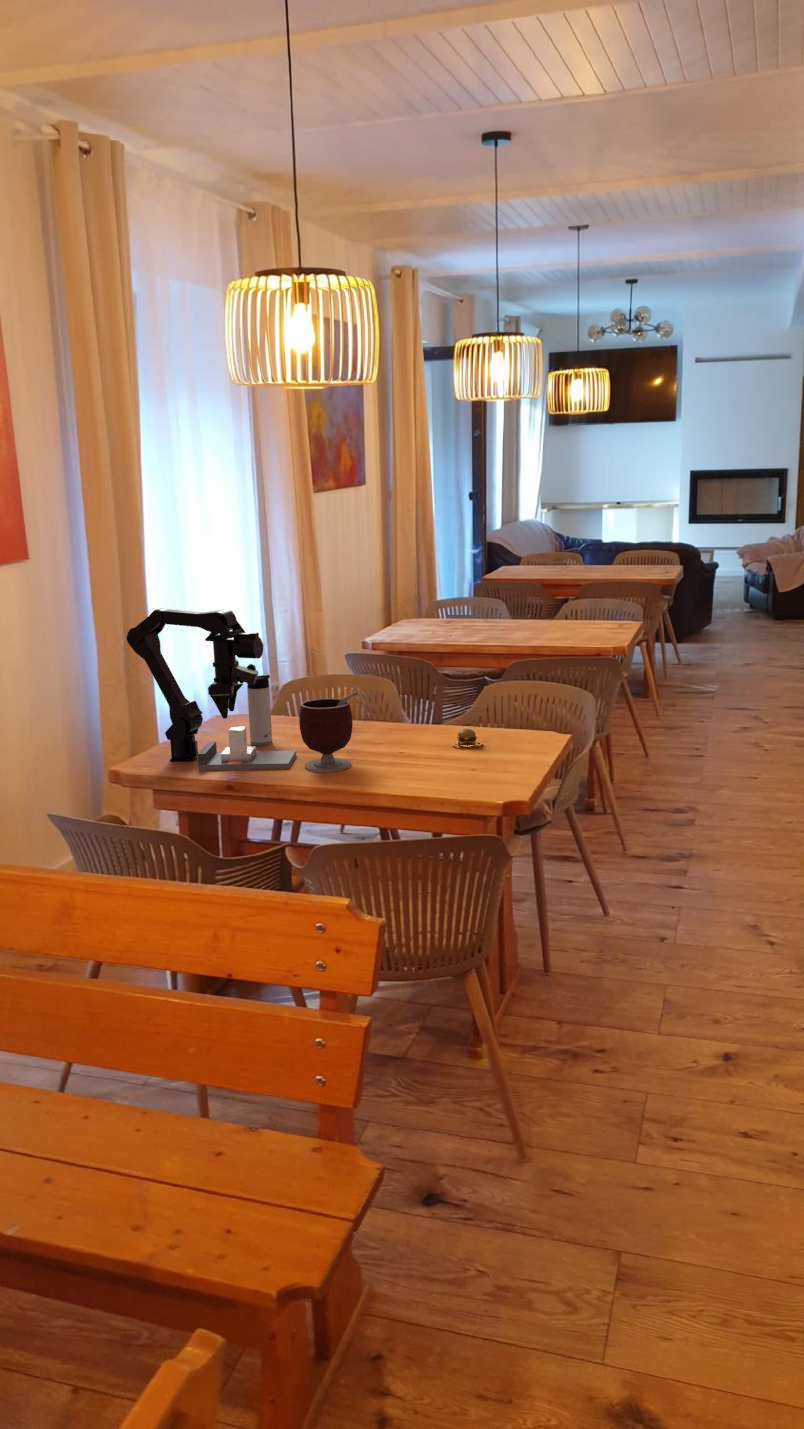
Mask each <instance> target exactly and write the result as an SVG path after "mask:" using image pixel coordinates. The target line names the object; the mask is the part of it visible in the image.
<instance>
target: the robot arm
mask: <svg viewBox="0 0 804 1429" xmlns="http://www.w3.org/2000/svg"><path fill="white" fill-rule="evenodd" d="M166 625H172V626H181V627H182V626H183V627H192V628H194V627H195V628H200V629H202V630H204V631H207V632H209V634H208V636H207V637H205V639H204V640H205V642H212V648H213V660H214V661H213V662H212V667H213V668H214V675H215V676H214V677H213V682H211V684H210V685H209V686H207V691H208V695H209V697H210V698H211V699H212V701H213V702H214V704H215V706H216V708H217V710H218V711H219V714H220V715H221V718H222V719H227V718H228V714H229V712H235V706H236V700H237V695H238V691H239V690H240V689H241V687H242V686H243V685H244V683H246V684H247V685H248V684H249V685H254V683H255V682H256V679H257V676H259V670H257V668H256V665H255V664H253V663H249V664H248V665H247V666H246V665H245V666H242V665H240V661H239V660H238V659H261V657H263V656H262V655H263V653H264V643H263V641H262V638H261V637H260V635H259V633H260V632H252V633H251V632H246V630H244V628H243V627H242V625H241V624H240V623H239V621H238V620H237V617H236V614H235V613H234V612H233V611H232V610H231V609H220V610H211V611H194V610H193V611H192V610H180V609H171V608H170V609H168V608H167V607H161V608H158V609H155V610H153V611H152V612H150V614H149V615H148V616H146V618H145V619H143V620H142V621H141V622H139V623H138V624H137V625H136V626H133V627H131V628H130V629H129V630H128V632H127V635H126V637H125V638H126V641H127V643H128V646H130V648H131V649H132V650H133V652H134V653H135V654H136V655H138V656H139V657H140V658H142V659H143V660H144V662H145V663H146V665H147V667H148V669H149V671H150V672H151V675H152V676H153V677H152V678H154V680H155V682H156V684H157V686H158V688H159V690H160V691H161V693H162V695H163V697H164V698H165V700H166V703H167V704H168V707H169V718H170V721H171V725H170V726H169V727H168V728H167V729H166V731H165V732H164V735H165V736H166V737H165V738H166V739H167V741H168V740H169V741H170V744H169V745H170V752H171V753H170V754H171V755H170V756H171V758H170V759H169V761H170V762H187V761H188V762H191V761H194V760H195V759H197V758H198V753H199V748H198V747H199V746H198V740H196V735H197V734H198V731H199V729H200V727H202V723H203V721H204V718H203V711H202V710H201V709H200V706H199V704H198V703H197V700H193V701H190V700H189V699H187V698H186V696H185V695H184V693H183V691H182V690H181V687H180V686H179V684H178V682H177V680H176V678H175V676H174V674H173V673H172V670H171V669H170V667H169V666H168V663H167V661H166V660H165V658H164V656H163V654H162V652H161V651H162V650H161V640H160V636H159V634H160V633H161V632H162V631H163V630H164V628H165V627H166ZM237 658H238V659H237Z"/></svg>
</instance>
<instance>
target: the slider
mask: <svg viewBox="0 0 804 1429" xmlns="http://www.w3.org/2000/svg"><path fill="white" fill-rule="evenodd" d="M227 732H228V744H229V746H226V747H225V749H224V750H223V751H221V752H222V753H221V761H251V760H252V759H253V757H254V756H255V755H256V751H257V746H253V745H251V746H248V738H247V726H230V728H229V729H228V730H227Z"/></svg>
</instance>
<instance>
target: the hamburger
mask: <svg viewBox="0 0 804 1429" xmlns="http://www.w3.org/2000/svg"><path fill="white" fill-rule="evenodd" d="M476 735H477V734H476V732H475V731H474V730H472V729H471V728H463V729H461V730H459V732H458V733H457V742H458V744H457V745H458V746H459V745H467V746H468V745H475V744H477V743H476V741H477V738H478V737H477V736H476ZM475 746H476V745H475Z"/></svg>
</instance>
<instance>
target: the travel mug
mask: <svg viewBox="0 0 804 1429" xmlns="http://www.w3.org/2000/svg"><path fill="white" fill-rule="evenodd" d="M270 678H271V675H270V674H266V675H265V674H264V675H258V676H257V679H256V682H255V683H254V685H249V684H247V685H246V686H247V688H246V690H247V704H248V706H247V708H248V720H249V721H248V723H249V739H250V745H251V746H256V747H264V746H265V747H266V746H270V745H272V743H273V731H272V727H273V726H272V713H271V710H272V708H271V694H270V684H269V683H270V682H269V679H270Z"/></svg>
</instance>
